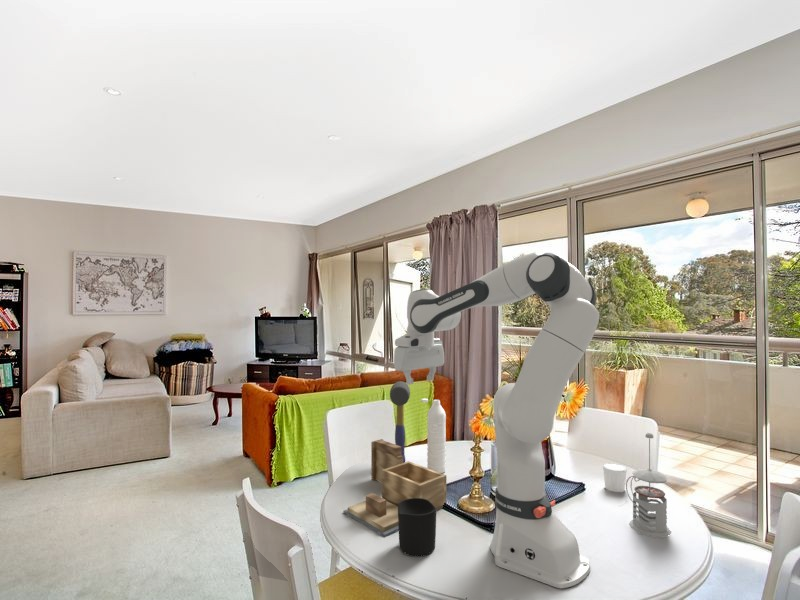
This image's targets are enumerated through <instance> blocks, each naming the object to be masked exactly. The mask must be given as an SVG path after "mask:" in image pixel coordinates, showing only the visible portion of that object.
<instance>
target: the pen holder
mask: <svg viewBox="0 0 800 600" xmlns="http://www.w3.org/2000/svg"><path fill="white" fill-rule="evenodd" d="M437 512H438V510H437V508H435V507H434V505H433V504H432V503H431V502H430V501H428V500H426V499H423V498H410V499H406V500H403V501H401V502H400V503H399V505H398V527H399V531H398V544H399V549H400V550H401V552H403V554H405V555H407V556H409V557H417V558H418V557H419V558H420V557H426V556H429V555H430V554H431V553H433V551H435V547H436V538H437V537H436V535H437V514H438V513H437Z"/></svg>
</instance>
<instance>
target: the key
mask: <svg viewBox="0 0 800 600" xmlns="http://www.w3.org/2000/svg"><path fill="white" fill-rule="evenodd" d="M378 440H379V441H376V440H375V441H376V449H378V450H380V451H383V452H386V453H388V454H391V455H394V456H398V455H401V446H398V445H396V444H394V443H392V442H390V441H386V440H384V439H383V440H380V439H378Z"/></svg>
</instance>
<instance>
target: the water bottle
mask: <svg viewBox="0 0 800 600" xmlns="http://www.w3.org/2000/svg"><path fill="white" fill-rule="evenodd" d="M421 403H429V399H428V398H421ZM426 419H427V423H426V424H427V427H426V428H427V435H426V436H427V437H426V438H427V439H426V440H427V442H426V443H427V445H426V446H427V448H426V449H427V454H426V455H427V459H426V462H427V464H426V466H427V467H426V468H428V469H431V470H433V471H436V472H439V473H441V474H444V473H445V472H446V470H447V463H446V462H447V461H446V460H447V458H446V457H447V455H446V454H447V453H446V451H447V449H446V447H447V445H446V444H447V443H446V440H447V436H446V435H447V434H446V433H447V431H446V427H447V426H446V425H447V424H446V422H447V421H446V419H447V415H446V411H445V409H444V408H443V407H442V404H441V401H440V399H433V401H432V405H431V406H430V407H429V409H428V410H427V418H426Z"/></svg>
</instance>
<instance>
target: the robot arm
mask: <svg viewBox="0 0 800 600" xmlns="http://www.w3.org/2000/svg"><path fill="white" fill-rule="evenodd" d="M535 294H536V295H537V297H539V298H540V299H541V300H542V301H543V302H545V303H546V304H547V305H548V306H549V307H550V313H549V316H548V318H547V320H546V321H545V323H544V325H542V328H541V330H540V331H539V332H538V334H537V336H536V337H535V339H534V341H533V343H532V345H531V346H530V347H529V349H528V352H526V354H525V356H524V359H523V363H522V365H521V369H520V371H519V374H518V376H517V378H516V381H515V382H510V383H506V384H503V385H502V386H501V387H498V389H497V390H496V392H495V394H494V398H493V419H494V421H493V422H494V423H493V424H494V435H495V448H496V465H497V466H496V473H497V474H496V488H495V494H494V495H495V496H494V497H495V498H494V499H495V501H494V502H495V508H496V515H495V522H494V531H493V535H492V539H491V543H490V545H489V547H490V548H489V549H490V551H491V553H492V555H493V557H494V564H495V566H497V567H499V568H502V569H505V570H508V571H511V572H513V573H516V574H518V575H521V576H524V577H527V578H529V579H532V580H535V581H538V582H539V583H540V582H541V583H544V584H546V585H549V586H551V587H554V588H557V589H566V588H570V587H574V586H576V585H577V584H579V583H581V582H582V581H584V579H585V578H587V577H588V575H589V574H590V572H591V562H590V559H589V558H587V557H585V556H584V555H582V554H581V553H580V548H579V543H578V539H577V537H576V536H575V534H574V533H573V532H572V531H571V530H569V528H568V527H567V526H566V525H565V524H564V523H563V522H562V520H560V519H559V517H557V515H556V514H554V512H553V507H555V506H556V500H555V499H554V500H552V501H550V500H549V498H548V494H547V492H546V468H545V467H546V463H545V461H546V460H545V455H544V451H543V447H542V446H543V445H542V442H543V441H545V440H546V439H548V437H549V436H550V435H551V433H552V431H553V428H554V420H555V414H556V412H557V410H558V409H559V408H558V407H559V405H560V402H561V399H562V397H563V393H564V391H565V388H566V386H567V384H568V382H569V380H570V378H571V376H572V375H573V373H574V372H575V369H576V368H577V366H578V365H579V363H580V361H581V359H582V357H583V356H584V354H585V352H586V351H587V349H588V347H589V346H590V344H591V342H592V340H593V338H594V335H595V332H596V331H597V327H598V324H599V322H600V313H599V310H598V309H597V308H596V304H597V294H596V291H595V288H594V287H593V285H592V284H591V282H589V281H588V280H587V279H586V277H585V276H584V275H583V274H582V273H581V271H580V270H579V269H578V268H577V267H575V265H574V264H571V263H570V262H569V261H568V260H567V259H566V258H565V257H563V256H561V255H559V254H557V253H554V252H545V253H542V252H538V251H537V252H536V251H535V252H532V253H529V254H525V255H522V256H518V257H517V258H514V259H512V260H510V261H508V262H506V263H504V264H501V265H500V266H498V267H496V268H494V269H493V270H491V271H489V272H488V273H486V274H484V275H482V276H480V277H478V278H476V279H475V280H472V281H471V282H468V283H467V284H465V285H462V286H461V287H458V288H455V289H454V290H452V291H449V292H448V293H445V294H443V295H438V294H436V293H435V292H434V291H433V290H432V289H427V288H425V289H424V288H423V289H416V290H414V291H411V292H410V293H409V295H408V299H407V305H406V319H407V327H406V333H405V334H403V335H401V336H400V337H397V338H396V339H395V340H394V345H395V346H396V347H395V350H394V353H393V368H394V369H395V370H396V371H399V372H403V375H404V377H405V379H406V380H405V381H406V382H405V383H406V384H407V385H408V386H409V385H413V384H414V377H412V376H411V374H412V371H415V370H416V371H417V370H422V369H423V370H424V369H428V370H429V372H428V374H426V380H427V382H432V381H434V380H435V379H434V376H435V374H436V372H437V367H442V366H444V365H445V352H444V351H445V350H444V347H443V341H442V340H441V339H440V338H438V337H436V338H435V332H442V331H443V332H444V331H451V330H454V329H456V328H457V327H458V326H459V325H460V323H461V321H462V312H463V311H465V310H469V309H472V308H477V307H479V308H480V307H501V306H505V305H510V304H513V303H517V302H519V301H521V300H524V299H526V298H529V297H530V296H533V295H535Z"/></svg>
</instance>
